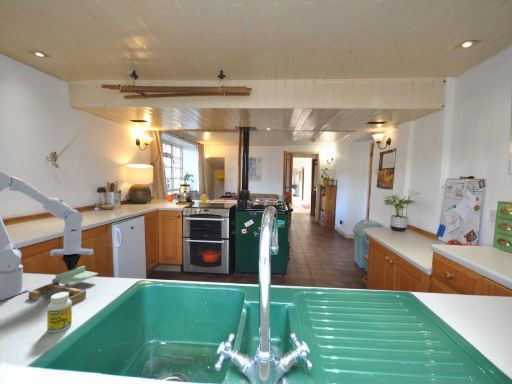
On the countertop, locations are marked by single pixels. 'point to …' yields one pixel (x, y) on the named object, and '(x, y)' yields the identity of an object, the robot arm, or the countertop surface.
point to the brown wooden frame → (76, 293)
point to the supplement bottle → (59, 312)
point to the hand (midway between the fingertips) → (71, 271)
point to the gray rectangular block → (52, 292)
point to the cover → (73, 276)
